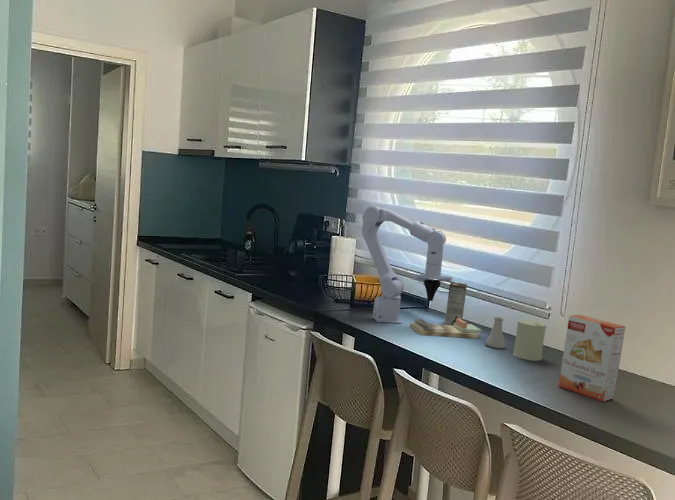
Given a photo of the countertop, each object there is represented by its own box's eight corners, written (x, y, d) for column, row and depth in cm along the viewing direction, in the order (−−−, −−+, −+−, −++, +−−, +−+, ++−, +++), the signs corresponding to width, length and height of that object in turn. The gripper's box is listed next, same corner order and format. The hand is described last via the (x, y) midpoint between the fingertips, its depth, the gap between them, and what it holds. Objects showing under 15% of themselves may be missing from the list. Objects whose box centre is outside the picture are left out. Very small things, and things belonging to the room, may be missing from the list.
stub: (462, 332, 249) (463, 323, 248) (453, 326, 257) (454, 317, 257) (481, 333, 250) (482, 324, 250) (471, 327, 259) (472, 319, 259)
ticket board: (420, 334, 244) (421, 325, 244) (409, 326, 256) (410, 317, 255) (478, 338, 249) (479, 329, 248) (465, 330, 260) (466, 321, 260)
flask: (507, 346, 241) (511, 318, 240) (503, 350, 234) (507, 321, 233) (487, 342, 244) (490, 314, 243) (482, 346, 237) (486, 317, 236)
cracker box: (557, 387, 196) (568, 314, 194) (569, 384, 200) (579, 313, 198) (603, 403, 185) (615, 326, 183) (614, 400, 189) (626, 325, 187)
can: (526, 361, 223) (531, 324, 221) (507, 353, 231) (512, 318, 229) (547, 360, 227) (552, 324, 226) (527, 352, 235) (532, 318, 234)
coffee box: (445, 321, 273) (450, 281, 271) (461, 324, 271) (467, 283, 270) (444, 326, 264) (449, 284, 262) (461, 328, 262) (466, 287, 261)
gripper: (418, 264, 249) (414, 301, 250) (456, 266, 252) (452, 303, 253) (412, 261, 256) (408, 297, 257) (449, 264, 259) (445, 299, 260)
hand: (429, 300), depth 256 cm, fingers closed
